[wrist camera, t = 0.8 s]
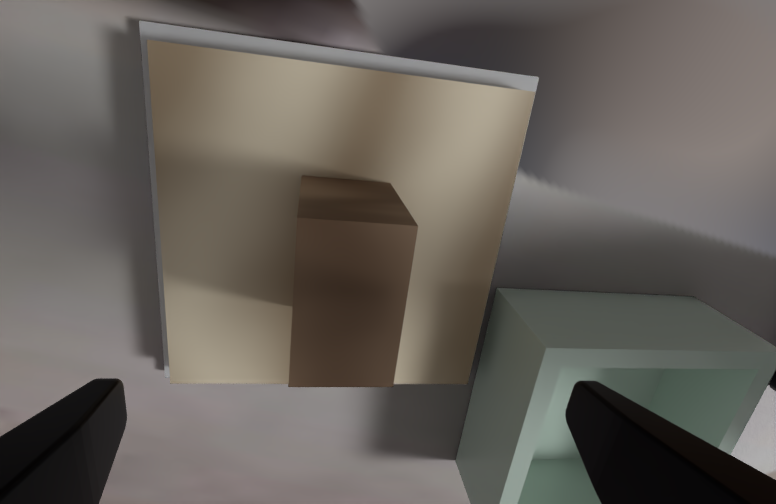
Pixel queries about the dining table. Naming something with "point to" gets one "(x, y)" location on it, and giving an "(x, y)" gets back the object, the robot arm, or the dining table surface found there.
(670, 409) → the dish
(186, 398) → the dining table surface
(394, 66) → the mat
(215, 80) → the lid
